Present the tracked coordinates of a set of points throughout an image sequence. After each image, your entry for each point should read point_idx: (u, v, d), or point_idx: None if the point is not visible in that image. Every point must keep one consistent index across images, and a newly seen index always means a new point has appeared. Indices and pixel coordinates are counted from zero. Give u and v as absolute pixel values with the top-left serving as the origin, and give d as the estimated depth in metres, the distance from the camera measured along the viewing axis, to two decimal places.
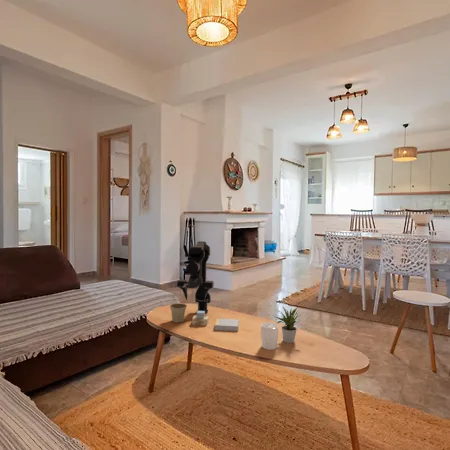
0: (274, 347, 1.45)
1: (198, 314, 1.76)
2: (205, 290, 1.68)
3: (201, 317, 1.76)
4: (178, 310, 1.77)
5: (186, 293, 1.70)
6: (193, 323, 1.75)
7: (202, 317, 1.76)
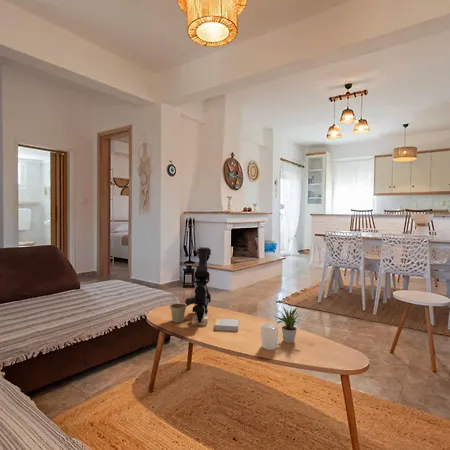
0: (274, 347, 1.45)
1: None
2: None
3: None
4: (178, 310, 1.77)
5: None
6: (193, 322, 1.75)
7: None
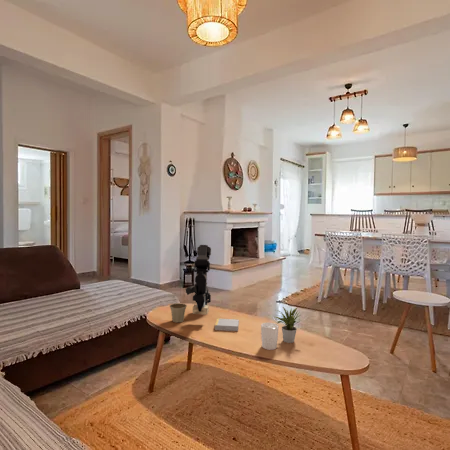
0: (274, 347, 1.45)
1: None
2: None
3: None
4: (178, 310, 1.77)
5: None
6: (193, 312, 1.75)
7: None
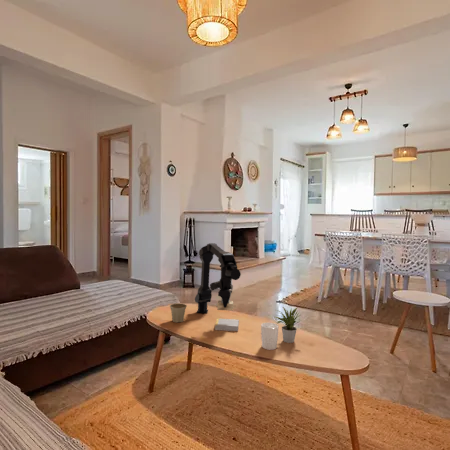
0: (274, 347, 1.45)
1: None
2: None
3: None
4: (178, 310, 1.77)
5: None
6: (218, 308, 1.70)
7: None
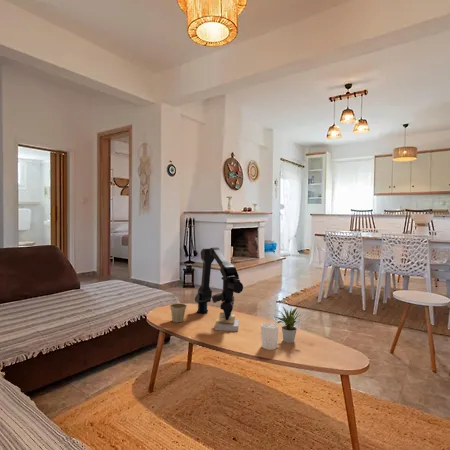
0: (274, 347, 1.45)
1: None
2: None
3: None
4: (178, 310, 1.77)
5: None
6: (220, 320, 1.70)
7: None
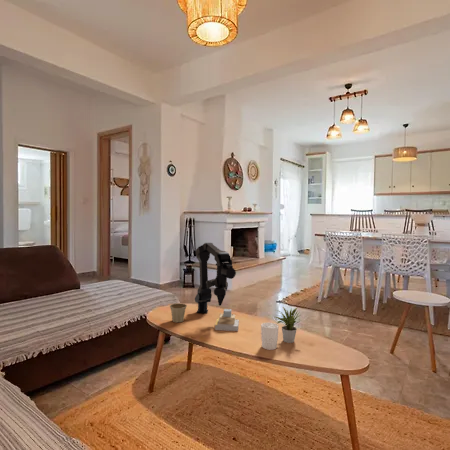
0: (274, 347, 1.45)
1: (225, 312, 1.71)
2: None
3: (228, 315, 1.71)
4: (178, 310, 1.77)
5: None
6: (220, 321, 1.70)
7: (229, 315, 1.71)
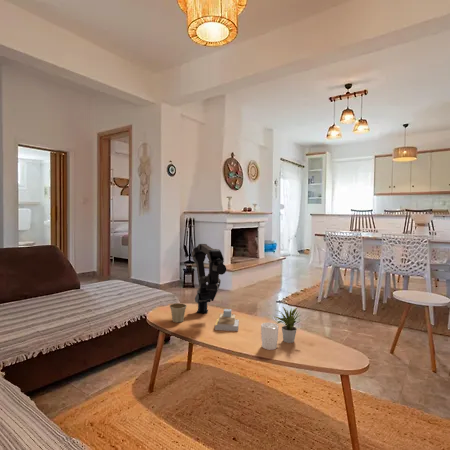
0: (274, 347, 1.45)
1: (225, 312, 1.71)
2: None
3: (228, 315, 1.71)
4: (178, 310, 1.77)
5: None
6: (220, 321, 1.70)
7: (229, 315, 1.71)
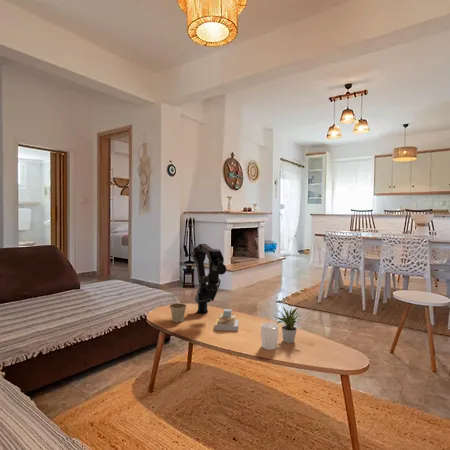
0: (274, 347, 1.45)
1: (225, 312, 1.71)
2: None
3: (228, 315, 1.71)
4: (178, 310, 1.77)
5: None
6: (220, 321, 1.70)
7: (229, 315, 1.71)
